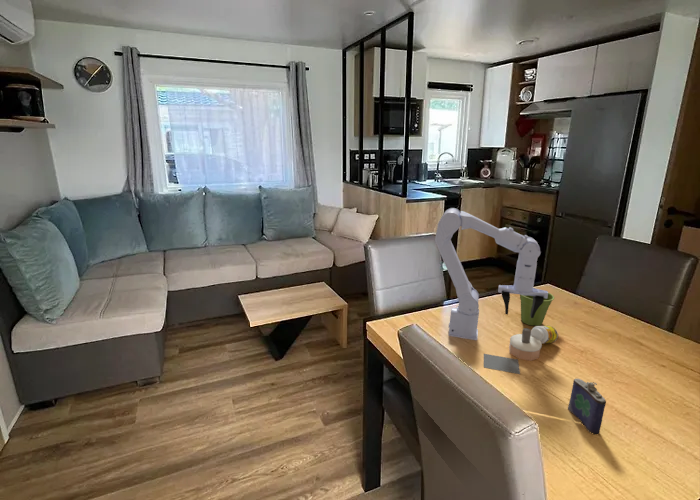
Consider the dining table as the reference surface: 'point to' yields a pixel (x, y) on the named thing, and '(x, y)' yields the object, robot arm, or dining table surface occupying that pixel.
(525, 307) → the plant pot
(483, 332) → the dining table surface
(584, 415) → the flask
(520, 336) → the lid
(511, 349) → the bowl
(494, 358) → the mat
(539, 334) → the supplement bottle
